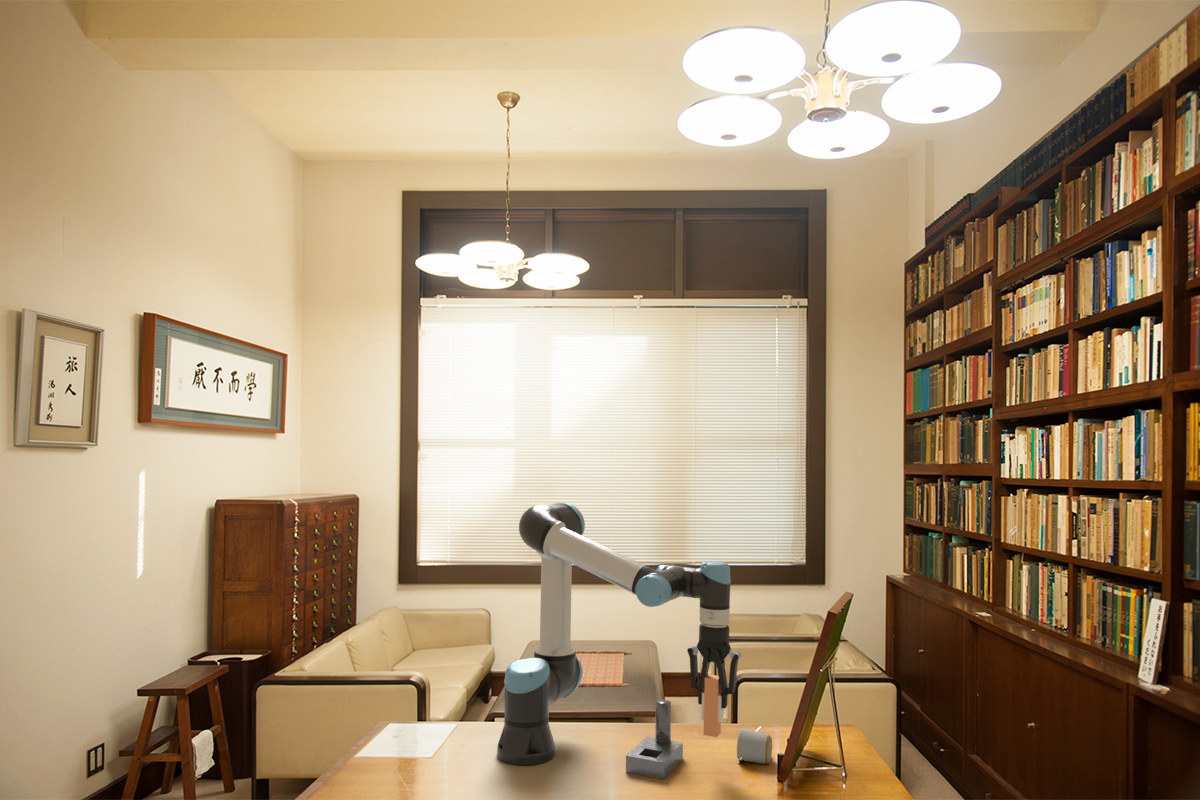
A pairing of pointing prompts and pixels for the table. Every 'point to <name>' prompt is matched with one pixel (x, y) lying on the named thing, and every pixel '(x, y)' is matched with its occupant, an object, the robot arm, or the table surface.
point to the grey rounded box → (754, 746)
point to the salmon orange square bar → (711, 706)
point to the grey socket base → (656, 747)
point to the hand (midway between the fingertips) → (712, 719)
